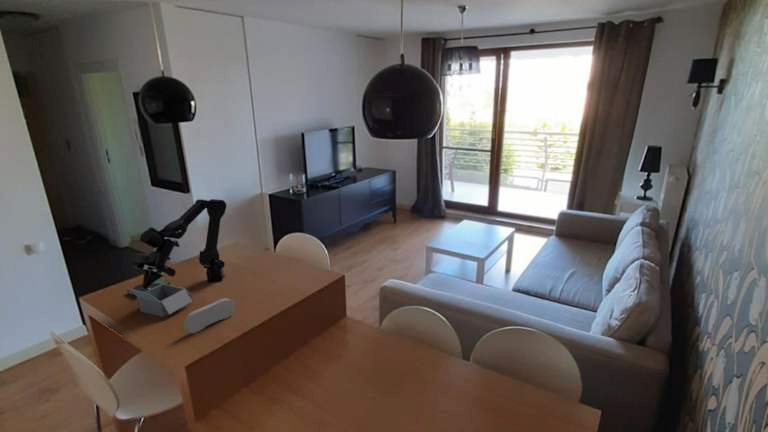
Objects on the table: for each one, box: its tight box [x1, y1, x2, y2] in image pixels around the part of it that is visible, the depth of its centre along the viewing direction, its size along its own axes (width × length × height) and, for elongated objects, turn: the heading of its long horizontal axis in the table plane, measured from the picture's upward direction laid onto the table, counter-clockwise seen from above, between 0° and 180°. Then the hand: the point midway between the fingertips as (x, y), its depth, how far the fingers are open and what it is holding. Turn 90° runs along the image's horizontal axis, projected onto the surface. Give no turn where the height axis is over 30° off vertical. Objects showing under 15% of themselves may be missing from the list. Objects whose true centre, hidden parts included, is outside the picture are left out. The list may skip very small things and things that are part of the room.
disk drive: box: [126, 277, 171, 300], centre depth 181 cm, size 10×3×15 cm
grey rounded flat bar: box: [183, 297, 236, 334], centre depth 149 cm, size 20×2×8 cm, turn 141°
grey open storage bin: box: [135, 284, 194, 319], centre depth 165 cm, size 15×20×7 cm
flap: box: [126, 287, 159, 302], centre depth 155 cm, size 6×13×1 cm
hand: (143, 288), depth 155 cm, fingers closed
